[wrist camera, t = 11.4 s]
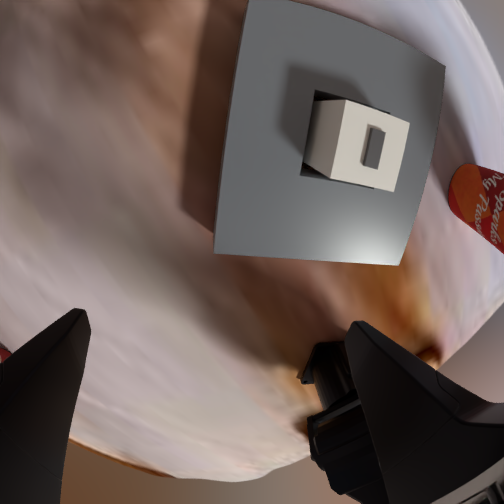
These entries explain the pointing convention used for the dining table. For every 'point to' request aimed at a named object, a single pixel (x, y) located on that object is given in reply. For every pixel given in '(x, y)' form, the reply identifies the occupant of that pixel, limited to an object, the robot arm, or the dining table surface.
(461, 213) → the paper cup
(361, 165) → the block
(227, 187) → the socket plate
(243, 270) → the dining table surface
